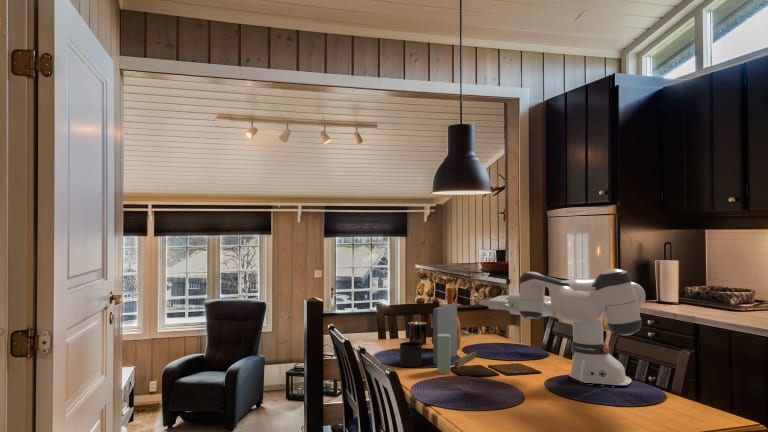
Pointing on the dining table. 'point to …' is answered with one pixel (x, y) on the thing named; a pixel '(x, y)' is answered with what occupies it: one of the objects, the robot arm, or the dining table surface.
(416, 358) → the mug
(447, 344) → the sage-green cabinet block
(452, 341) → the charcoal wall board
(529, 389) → the dining table surface
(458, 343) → the amber bottle
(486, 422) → the dining table surface
